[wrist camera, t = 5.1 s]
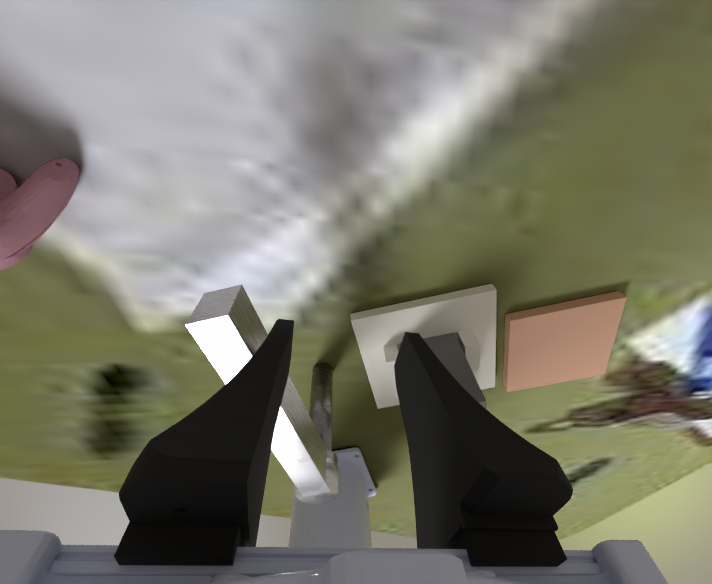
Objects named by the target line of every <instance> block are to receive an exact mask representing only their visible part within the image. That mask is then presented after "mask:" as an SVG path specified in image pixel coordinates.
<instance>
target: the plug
mask: <svg viewBox="0 0 712 584" xmlns="http://www.w3.org/2000/svg"><path fill="white" fill-rule="evenodd" d="M424 341H425V342H426V343H427V345H428V346H429V347H430V349H431V350H432V351H433V353H434V354H435V355H436V356H437V358H438V359H439V360H440V361H441V363H442V364H443V365H444V366H445V368H446V369H447V370H448V371H449V372H450V373H451V375H452V376H453V377H454V378H455V379H456V380H457V381H458V382H459V384H460V385H461V386H462V387H463V388H464V389H465V390H466V391H467V392H468V393H469V394H470V395H471V396H472V397H473V398H474V399H475V400H476V401H477V402H479V403H480V404H481V405H482V406H483V407H484V408H485V409H486V400H485V398H484V396H483V393H482V391H481V389H480V387H479V385H478V383H477V380H476V378H475V376H474V374H473V372H472V370H471V367H470V365H469V363H468V361H467V359H466V357H465V354H464V352H463V350H462V348H461V346H460V344H459V341H458V339H457V337H456V335H455V333H454V332H453V333H448V334H444V335H439V336H434V337H429V338H424ZM400 346H401V343H400Z"/></svg>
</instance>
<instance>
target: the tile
mask: <svg viewBox="0 0 712 584" xmlns="http://www.w3.org/2000/svg"><path fill="white" fill-rule="evenodd" d="M626 299H627V297H626V296H625V295H623V294H622V293H621V292H619V291H616V292H611V293H606V294H601V295H596V296H592V297H587V298H582V299H577V300H572V301H567V302H562V303H557V304H552V305H548V306H543V307H538V308H533V309H528V310H523V311H518V312H513V313H509V314H505V339H504V366H503V386H504V388H505V390H506V392H512V391H517V390H522V389H528V388H533V387H539V386H544V385H549V384H555V383H560V382H566V381H571V380H576V379H582V378H587V377H593V376H598V375H603V374H605V371H606V368H607V364H608V361H609V357H610V354H611V350H612V347H613V344H614V340H615V337H616V333H617V330H618V326H619V323H620V320H621V316H622V313H623V309H624V306H625V302H626Z"/></svg>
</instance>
